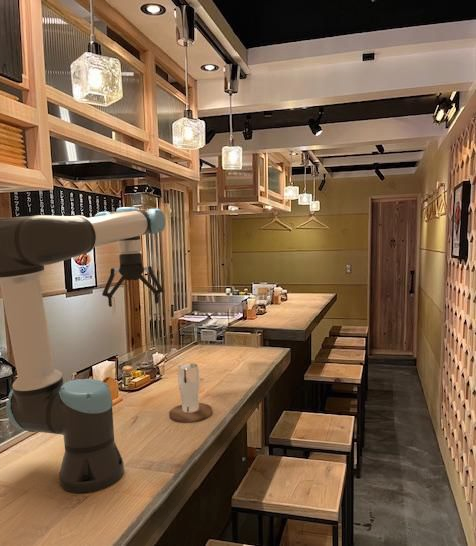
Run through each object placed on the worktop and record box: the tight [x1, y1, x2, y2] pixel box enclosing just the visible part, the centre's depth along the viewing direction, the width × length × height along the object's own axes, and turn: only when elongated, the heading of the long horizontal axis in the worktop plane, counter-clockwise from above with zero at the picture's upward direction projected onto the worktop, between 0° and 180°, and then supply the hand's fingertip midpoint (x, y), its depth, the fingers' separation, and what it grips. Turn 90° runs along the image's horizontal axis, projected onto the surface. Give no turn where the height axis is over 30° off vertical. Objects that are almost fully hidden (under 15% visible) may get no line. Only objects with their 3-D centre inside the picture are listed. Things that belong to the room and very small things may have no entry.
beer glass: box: [177, 362, 200, 414], centre depth 147 cm, size 7×7×15 cm
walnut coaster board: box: [168, 402, 213, 424], centre depth 147 cm, size 14×14×1 cm
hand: (134, 314), depth 154 cm, fingers open, 13 cm apart
